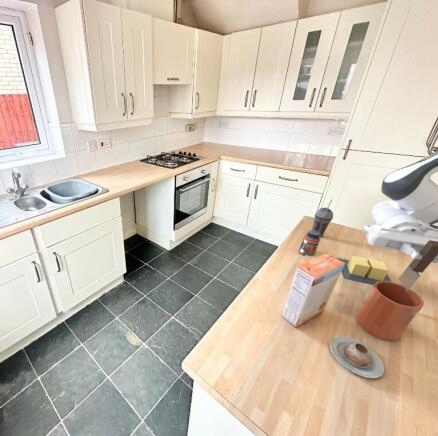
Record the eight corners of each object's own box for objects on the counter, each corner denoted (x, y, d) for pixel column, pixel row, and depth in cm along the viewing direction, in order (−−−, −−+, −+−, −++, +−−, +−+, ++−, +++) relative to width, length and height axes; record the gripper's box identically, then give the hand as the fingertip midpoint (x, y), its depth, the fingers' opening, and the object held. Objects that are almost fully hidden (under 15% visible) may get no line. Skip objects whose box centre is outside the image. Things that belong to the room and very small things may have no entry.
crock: (391, 318, 78) (413, 286, 71) (405, 346, 70) (432, 313, 63) (352, 308, 82) (369, 276, 75) (361, 333, 74) (381, 301, 67)
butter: (377, 271, 96) (383, 261, 94) (382, 281, 92) (388, 270, 89) (346, 264, 100) (351, 255, 98) (350, 274, 95) (355, 264, 93)
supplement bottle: (300, 256, 107) (308, 235, 102) (296, 248, 112) (304, 227, 107) (315, 258, 106) (324, 236, 100) (311, 250, 111) (319, 229, 105)
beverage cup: (304, 234, 123) (316, 198, 113) (314, 231, 125) (327, 195, 115) (317, 241, 117) (332, 204, 107) (328, 238, 119) (343, 201, 109)
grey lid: (321, 354, 68) (327, 343, 66) (337, 330, 75) (343, 320, 72) (375, 390, 60) (383, 380, 58) (388, 361, 66) (396, 350, 64)
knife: (403, 279, 70) (437, 238, 61) (410, 292, 66) (447, 251, 57) (395, 277, 70) (426, 236, 61) (401, 290, 67) (435, 249, 58)
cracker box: (306, 300, 86) (326, 252, 75) (323, 312, 81) (347, 263, 71) (278, 314, 80) (296, 265, 70) (295, 328, 76) (316, 278, 66)
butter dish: (382, 269, 99) (383, 267, 98) (396, 292, 88) (397, 290, 87) (335, 259, 105) (336, 257, 104) (342, 280, 94) (343, 278, 93)
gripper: (365, 216, 74) (381, 239, 63) (456, 230, 67) (493, 258, 56) (356, 233, 77) (370, 258, 66) (443, 248, 70) (475, 279, 59)
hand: (427, 259), depth 61 cm, fingers closed on knife, 2 cm apart
